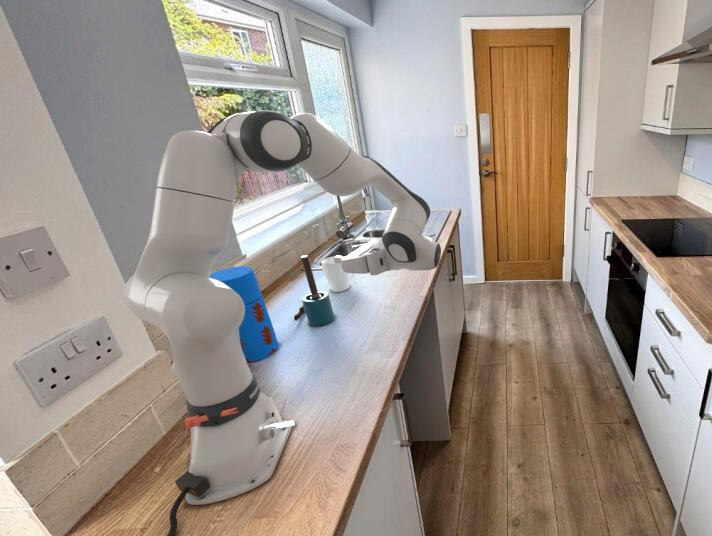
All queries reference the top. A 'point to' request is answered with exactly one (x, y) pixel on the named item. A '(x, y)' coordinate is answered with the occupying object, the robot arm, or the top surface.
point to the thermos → (250, 313)
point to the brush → (310, 278)
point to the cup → (335, 275)
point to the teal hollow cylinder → (318, 309)
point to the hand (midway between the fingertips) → (344, 253)
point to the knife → (301, 311)
